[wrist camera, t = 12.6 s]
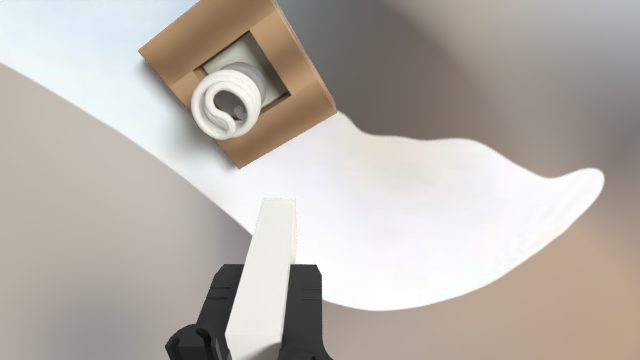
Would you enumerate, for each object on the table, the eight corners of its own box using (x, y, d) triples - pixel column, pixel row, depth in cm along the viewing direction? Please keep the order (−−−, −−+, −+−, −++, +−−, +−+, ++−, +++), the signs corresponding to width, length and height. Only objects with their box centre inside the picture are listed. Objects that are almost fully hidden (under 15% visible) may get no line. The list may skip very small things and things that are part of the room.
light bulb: (216, 57, 33) (171, 84, 23) (266, 51, 33) (243, 75, 22) (230, 107, 36) (196, 151, 26) (276, 101, 35) (260, 144, 25)
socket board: (155, 45, 33) (137, 50, 30) (256, -34, 30) (248, -38, 26) (245, 154, 40) (239, 169, 37) (334, 102, 37) (336, 112, 33)
